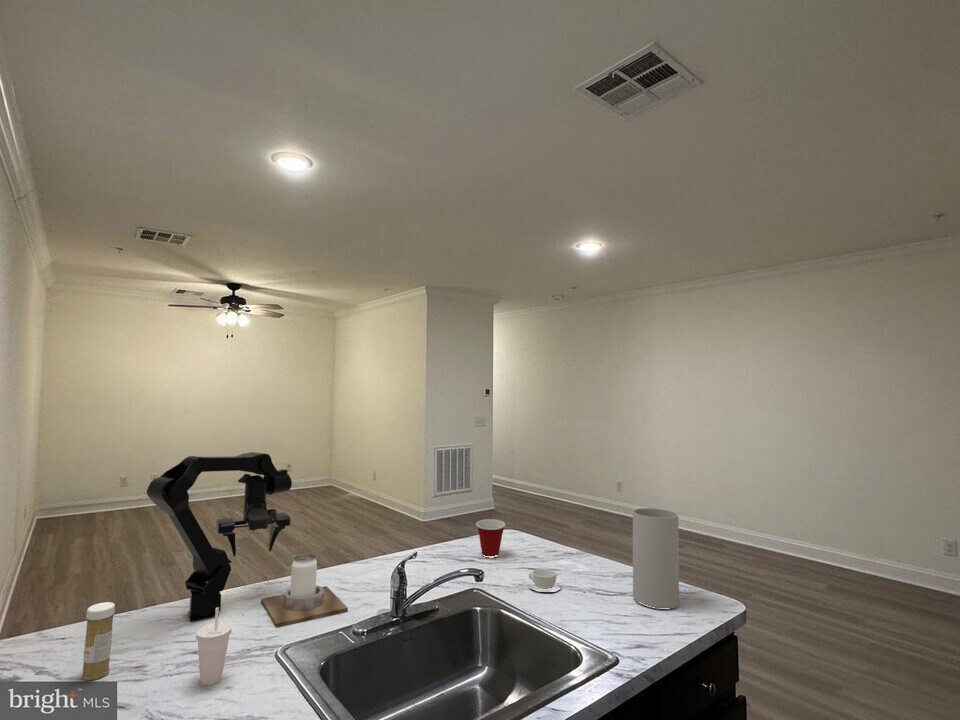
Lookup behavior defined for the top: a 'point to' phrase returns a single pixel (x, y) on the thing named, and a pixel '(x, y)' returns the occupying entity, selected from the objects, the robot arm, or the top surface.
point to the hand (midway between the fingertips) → (252, 553)
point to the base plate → (289, 617)
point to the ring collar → (303, 600)
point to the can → (303, 576)
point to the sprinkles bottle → (98, 640)
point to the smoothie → (212, 650)
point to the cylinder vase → (656, 557)
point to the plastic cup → (490, 536)
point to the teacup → (543, 578)
